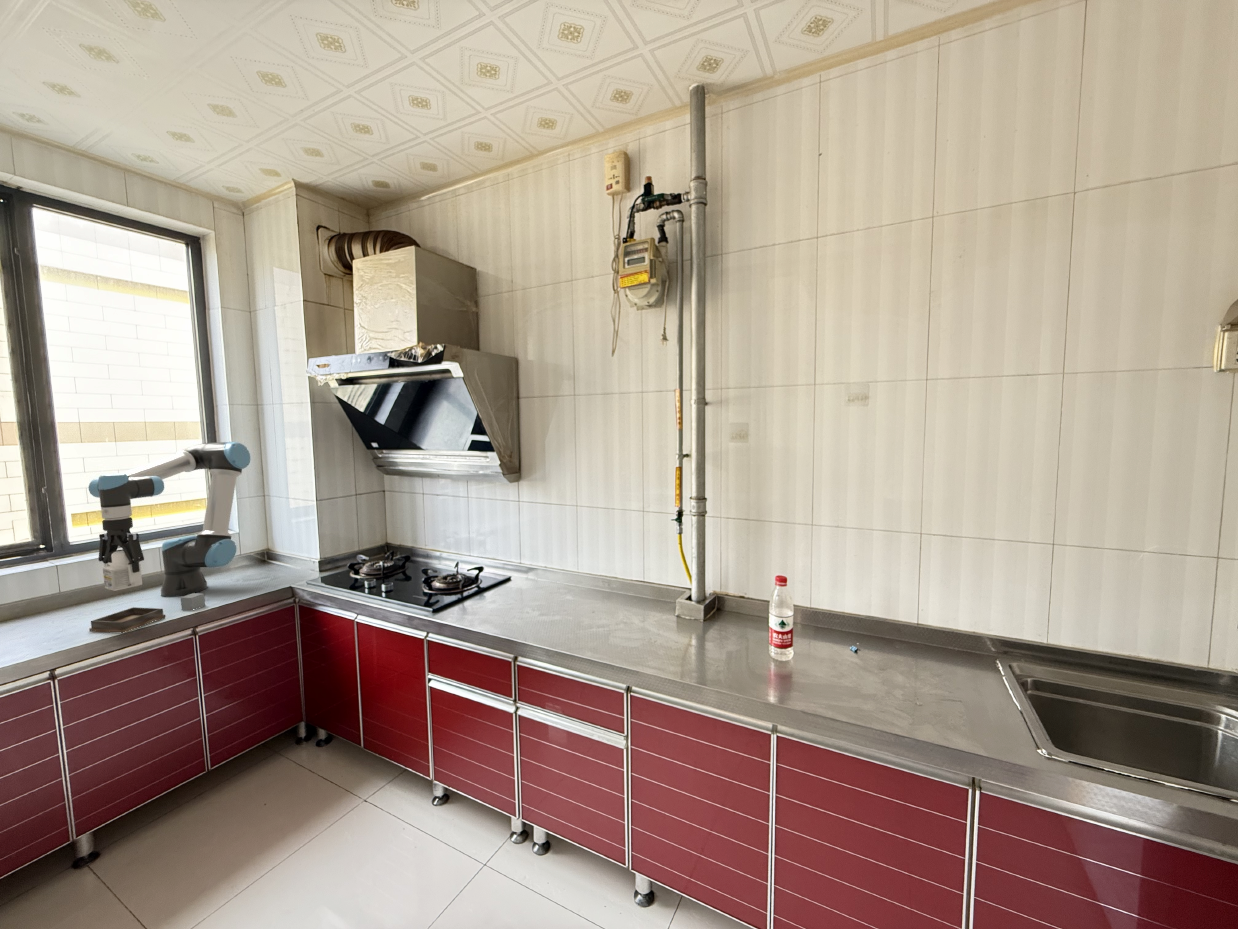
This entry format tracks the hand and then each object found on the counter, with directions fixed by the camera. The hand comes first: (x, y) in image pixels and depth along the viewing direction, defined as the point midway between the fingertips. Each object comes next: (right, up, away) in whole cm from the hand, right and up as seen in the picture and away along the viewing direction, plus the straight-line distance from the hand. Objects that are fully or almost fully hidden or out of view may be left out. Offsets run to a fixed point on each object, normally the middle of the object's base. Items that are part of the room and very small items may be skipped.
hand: (123, 581), depth 180 cm
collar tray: (0, -16, +2) cm, 16 cm away
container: (0, -2, 0) cm, 2 cm away
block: (+11, -14, +17) cm, 25 cm away
